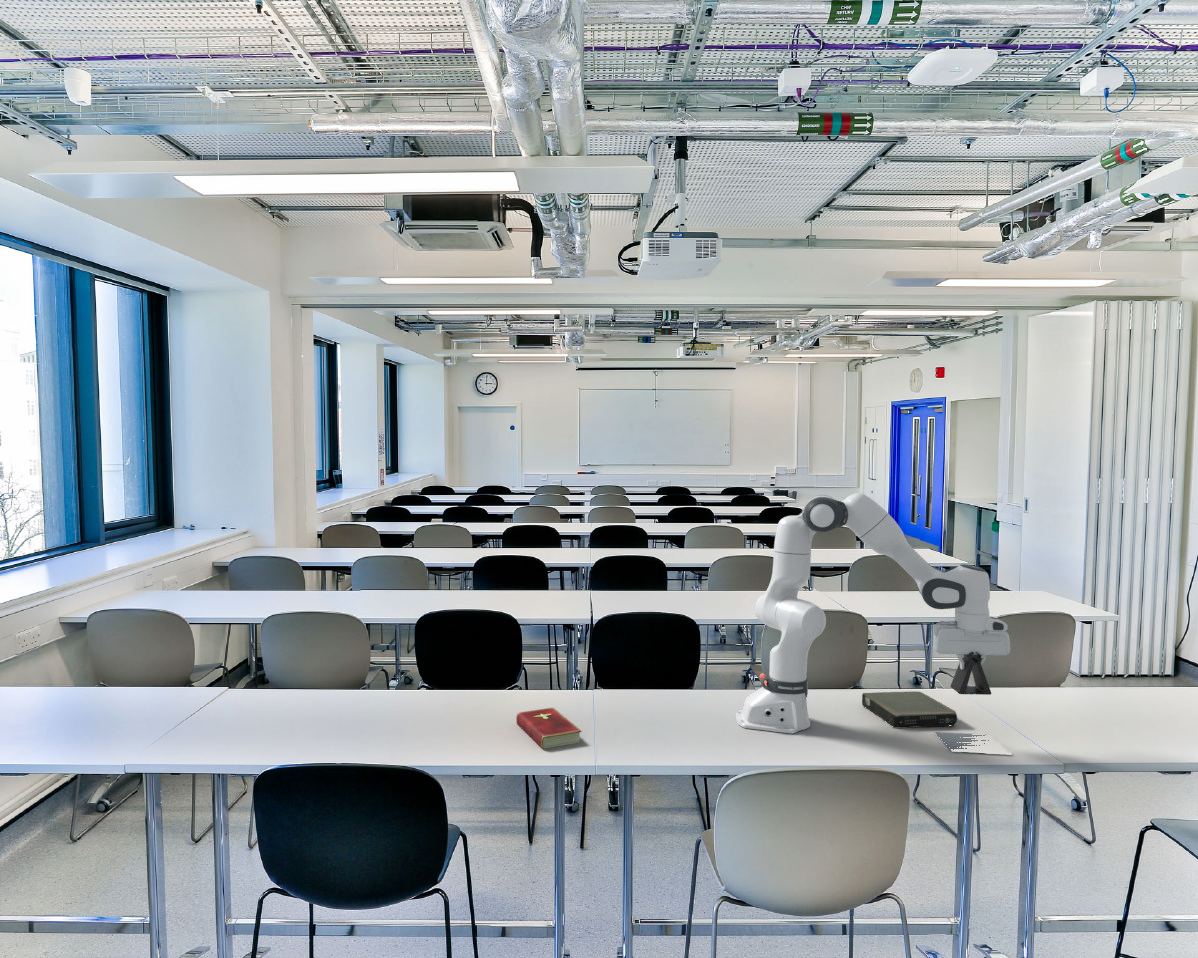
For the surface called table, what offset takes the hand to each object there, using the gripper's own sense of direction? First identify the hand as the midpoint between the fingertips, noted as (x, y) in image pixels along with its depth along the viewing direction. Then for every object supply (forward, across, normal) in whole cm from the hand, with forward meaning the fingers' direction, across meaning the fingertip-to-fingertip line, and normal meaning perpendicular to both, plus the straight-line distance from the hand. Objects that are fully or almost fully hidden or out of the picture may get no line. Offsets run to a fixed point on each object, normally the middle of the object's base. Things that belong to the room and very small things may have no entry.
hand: (970, 669), depth 214 cm
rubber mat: (+22, +1, 0) cm, 22 cm away
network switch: (+23, -10, +22) cm, 33 cm away
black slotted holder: (+7, 0, 0) cm, 7 cm away
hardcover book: (+20, -122, -9) cm, 124 cm away
